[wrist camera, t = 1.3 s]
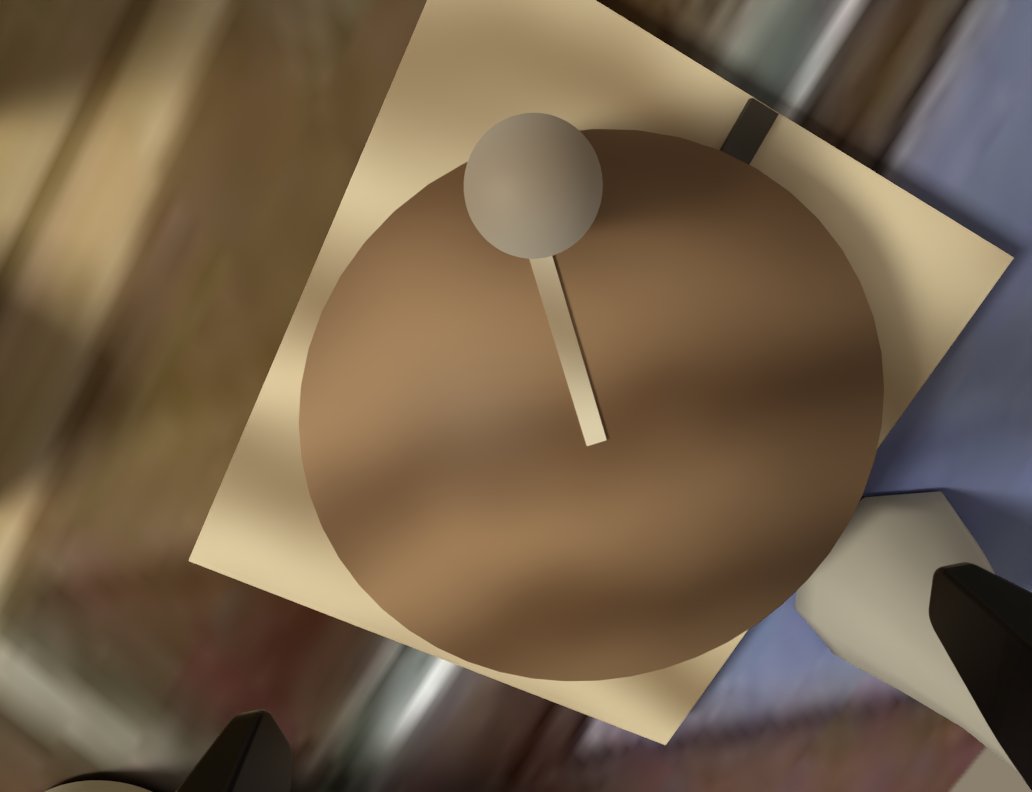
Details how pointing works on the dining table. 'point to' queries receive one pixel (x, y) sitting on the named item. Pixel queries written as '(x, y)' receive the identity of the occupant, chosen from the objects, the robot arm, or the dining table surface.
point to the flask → (896, 601)
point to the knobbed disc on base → (590, 402)
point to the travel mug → (97, 787)
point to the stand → (586, 105)
